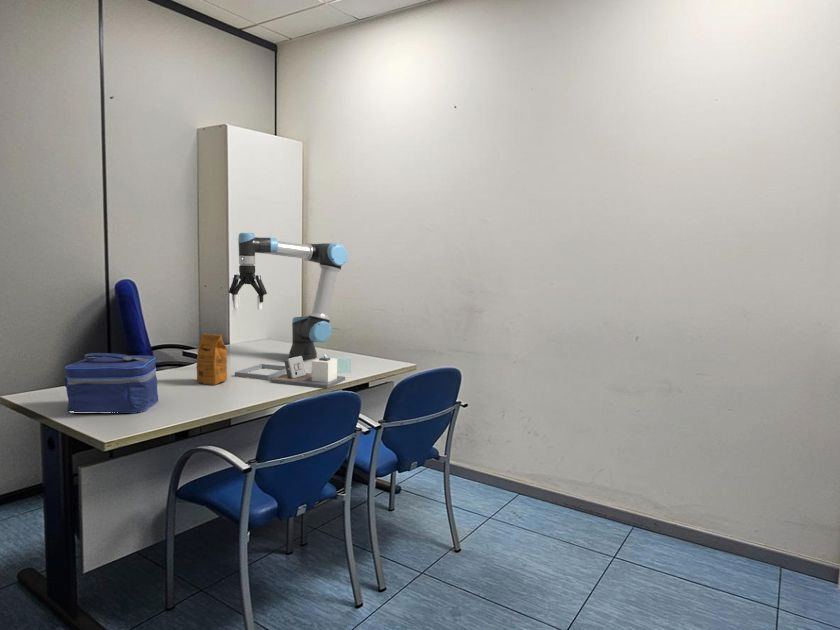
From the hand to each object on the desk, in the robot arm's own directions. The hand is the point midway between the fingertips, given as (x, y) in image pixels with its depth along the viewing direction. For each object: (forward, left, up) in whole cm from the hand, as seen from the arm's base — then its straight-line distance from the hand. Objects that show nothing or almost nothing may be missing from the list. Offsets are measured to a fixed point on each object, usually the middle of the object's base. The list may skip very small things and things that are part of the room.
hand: (247, 308), depth 275 cm
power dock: (+10, +39, -30) cm, 50 cm away
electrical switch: (+10, +32, -29) cm, 44 cm away
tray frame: (+4, +12, -30) cm, 33 cm away
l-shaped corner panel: (-16, +40, -31) cm, 53 cm away
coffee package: (+29, +1, -31) cm, 42 cm away
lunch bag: (+75, -6, -31) cm, 82 cm away
